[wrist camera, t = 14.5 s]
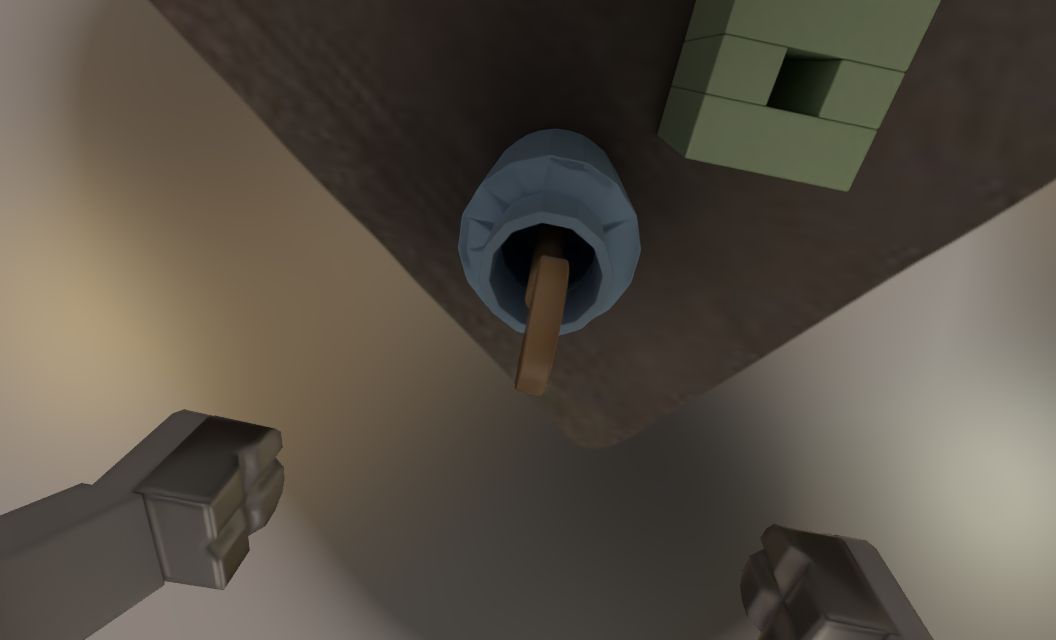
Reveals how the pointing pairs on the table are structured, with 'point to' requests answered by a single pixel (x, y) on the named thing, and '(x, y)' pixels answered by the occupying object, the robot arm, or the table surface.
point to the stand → (790, 83)
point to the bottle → (557, 199)
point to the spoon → (543, 309)
